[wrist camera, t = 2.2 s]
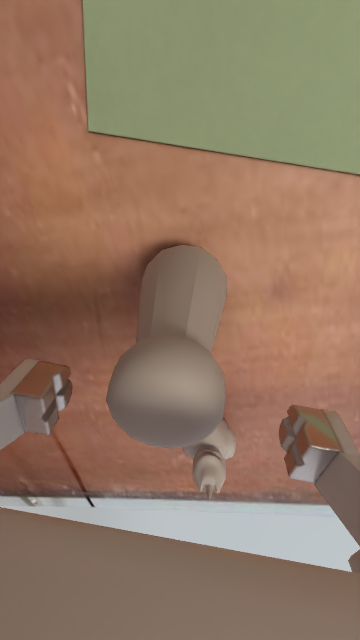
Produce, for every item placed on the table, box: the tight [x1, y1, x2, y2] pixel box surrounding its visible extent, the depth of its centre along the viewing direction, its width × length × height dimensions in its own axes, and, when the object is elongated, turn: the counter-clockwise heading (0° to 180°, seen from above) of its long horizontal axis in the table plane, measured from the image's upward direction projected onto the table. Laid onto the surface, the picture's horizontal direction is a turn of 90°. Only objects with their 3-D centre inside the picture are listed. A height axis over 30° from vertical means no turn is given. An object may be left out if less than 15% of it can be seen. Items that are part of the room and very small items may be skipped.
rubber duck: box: [183, 419, 236, 501], centre depth 25 cm, size 5×7×8 cm
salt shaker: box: [106, 245, 227, 448], centre depth 14 cm, size 6×6×13 cm
